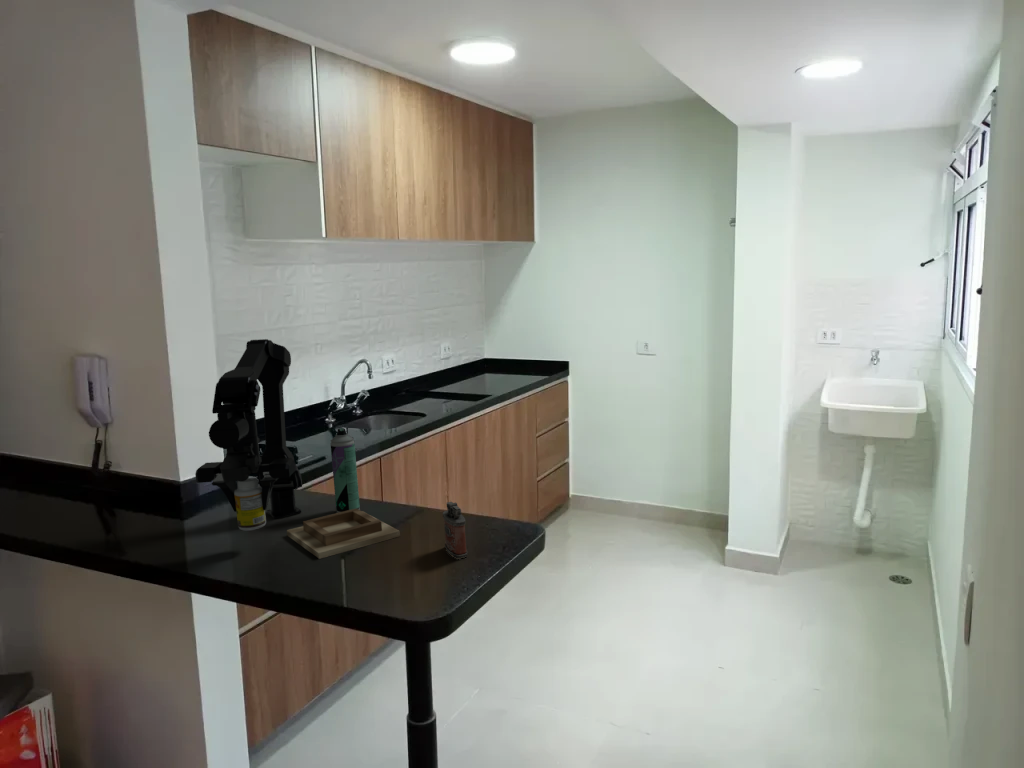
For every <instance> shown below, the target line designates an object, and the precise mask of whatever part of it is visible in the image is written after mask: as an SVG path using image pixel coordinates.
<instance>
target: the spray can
mask: <svg viewBox="0 0 1024 768" xmlns="http://www.w3.org/2000/svg"><path fill="white" fill-rule="evenodd" d="M330 453H331V455H330V456H331V465H332V475H333V476H332V477H333V486H334V498H335V499H334V500H335V510H336V513H339V512H343V511H347V510H351V509H358V510H360V511H361V509H360V508H361V506H360V505H361V504H360V494H359V493H360V491H359V482H358V481H359V480H358V469H357V468H358V467H357V459H356V446H355V440H354V437H353V436H350V435H349V433H347V431H346V429H345V428H343V427H342V428H337V432H336V434H335V436H334V437H333V438H331V439H330Z"/></svg>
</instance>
